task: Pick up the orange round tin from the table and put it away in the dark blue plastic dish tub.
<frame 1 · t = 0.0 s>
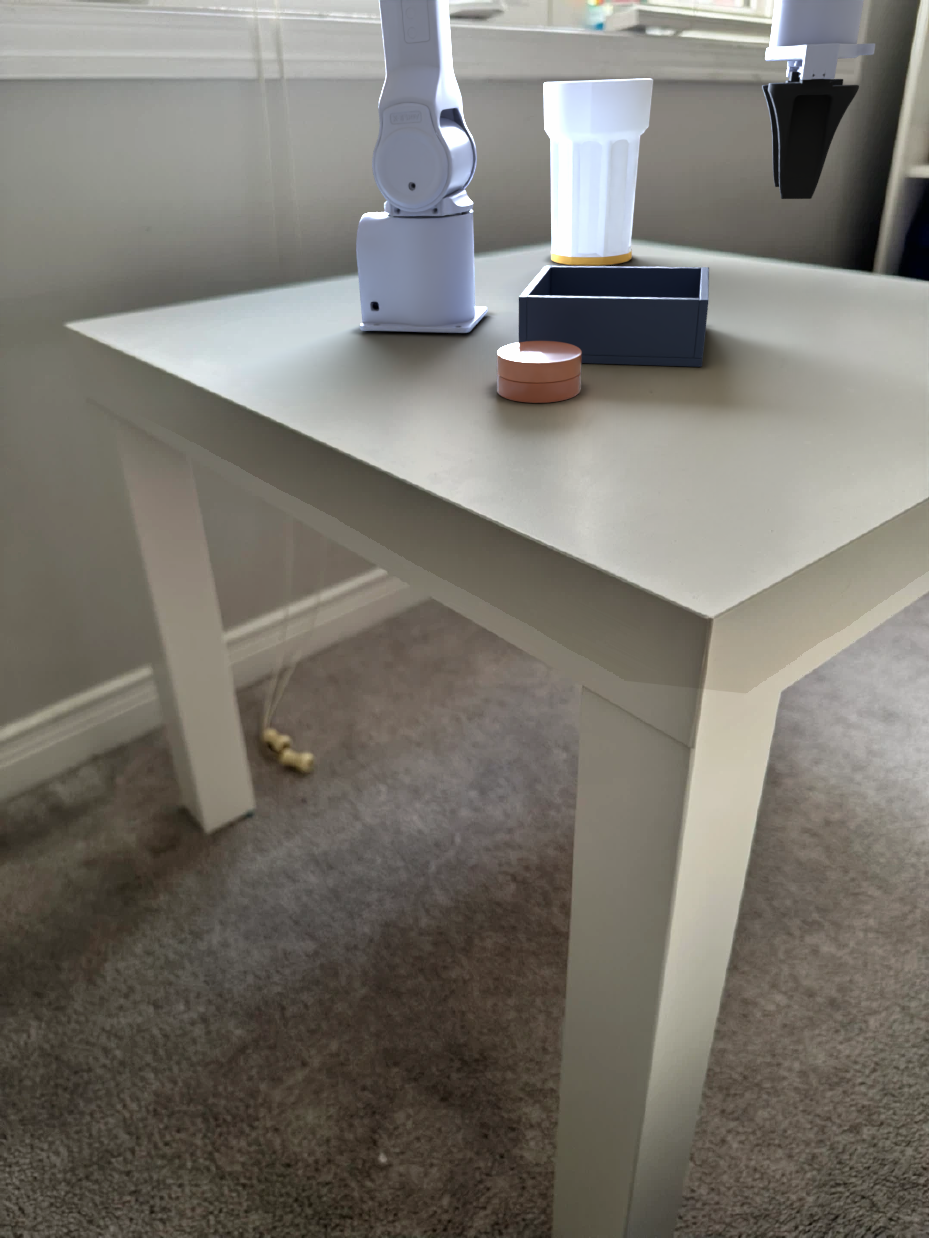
hand: (791, 192, 67), 10 cm above the table, tool pointing down, fingers open, 7 cm apart
orange round tin: (538, 390, 61), on the table
tub: (615, 343, 71), on the table
cup: (590, 260, 103), on the table
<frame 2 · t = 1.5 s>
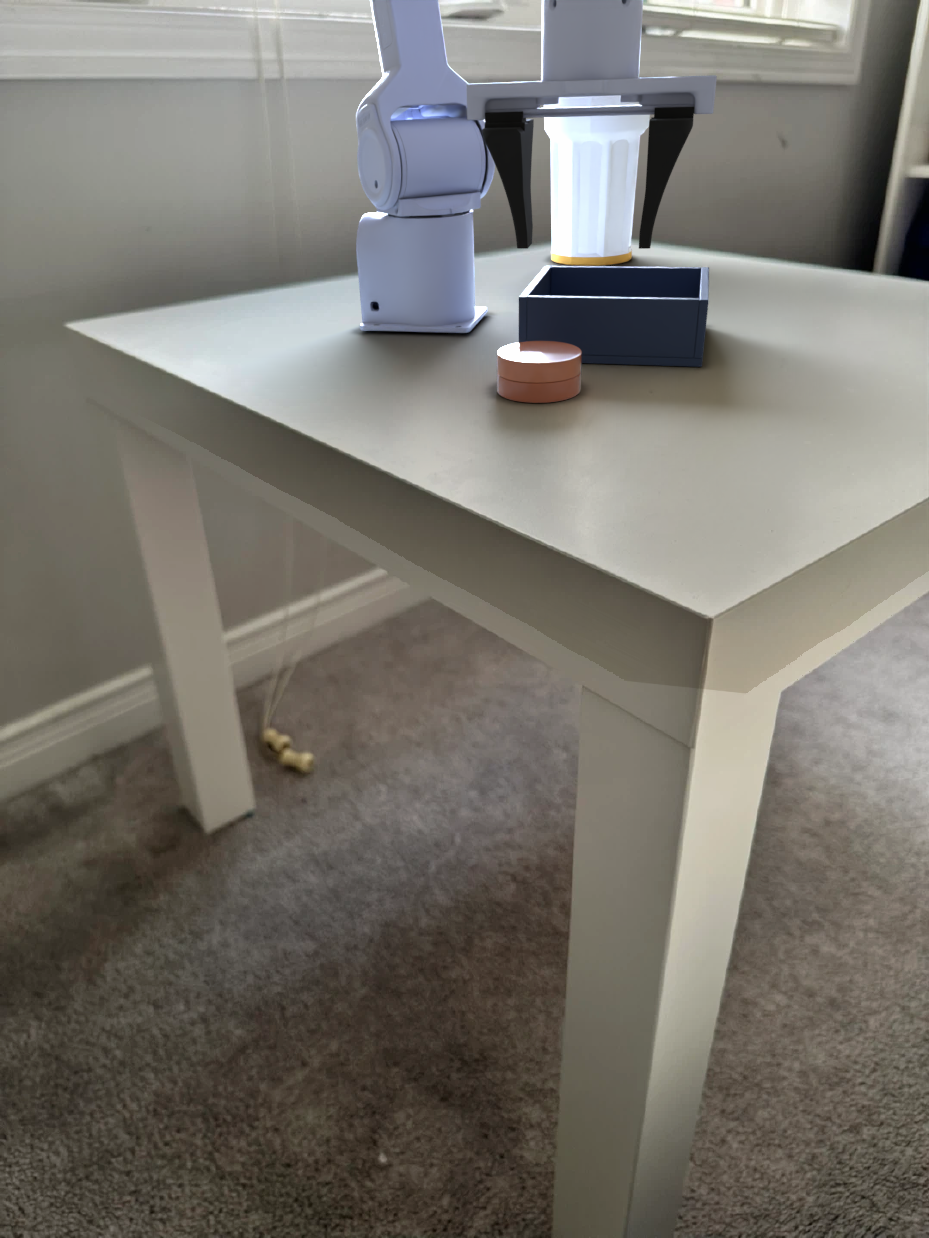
hand: (583, 246, 58), 9 cm above the table, tool pointing down, fingers open, 7 cm apart
nothing on the table moved.
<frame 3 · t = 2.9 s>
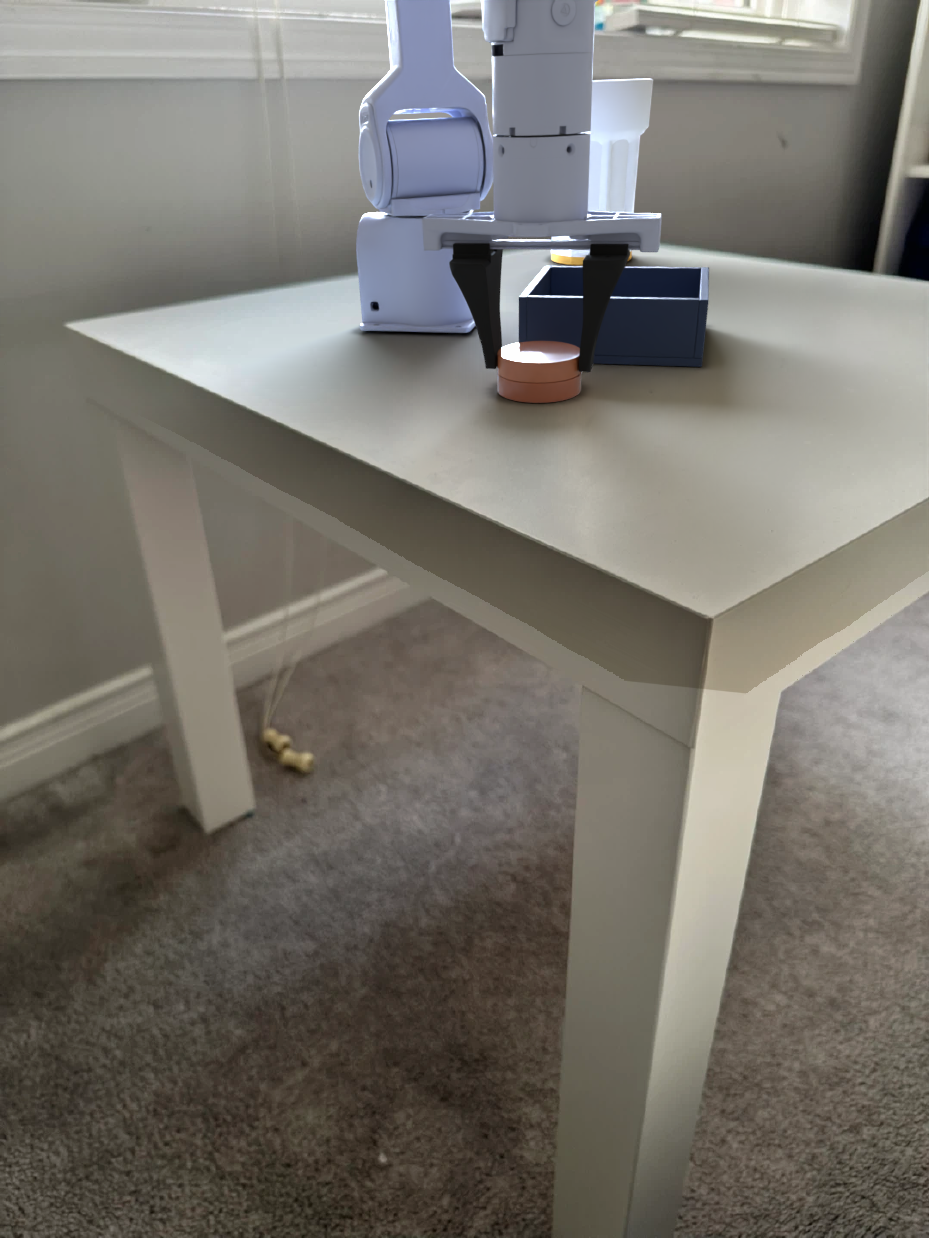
hand: (538, 366, 60), 2 cm above the table, tool pointing down, fingers closed on orange round tin, 5 cm apart
orange round tin: (539, 390, 61), on the table, touching gripper
everything else where it was.
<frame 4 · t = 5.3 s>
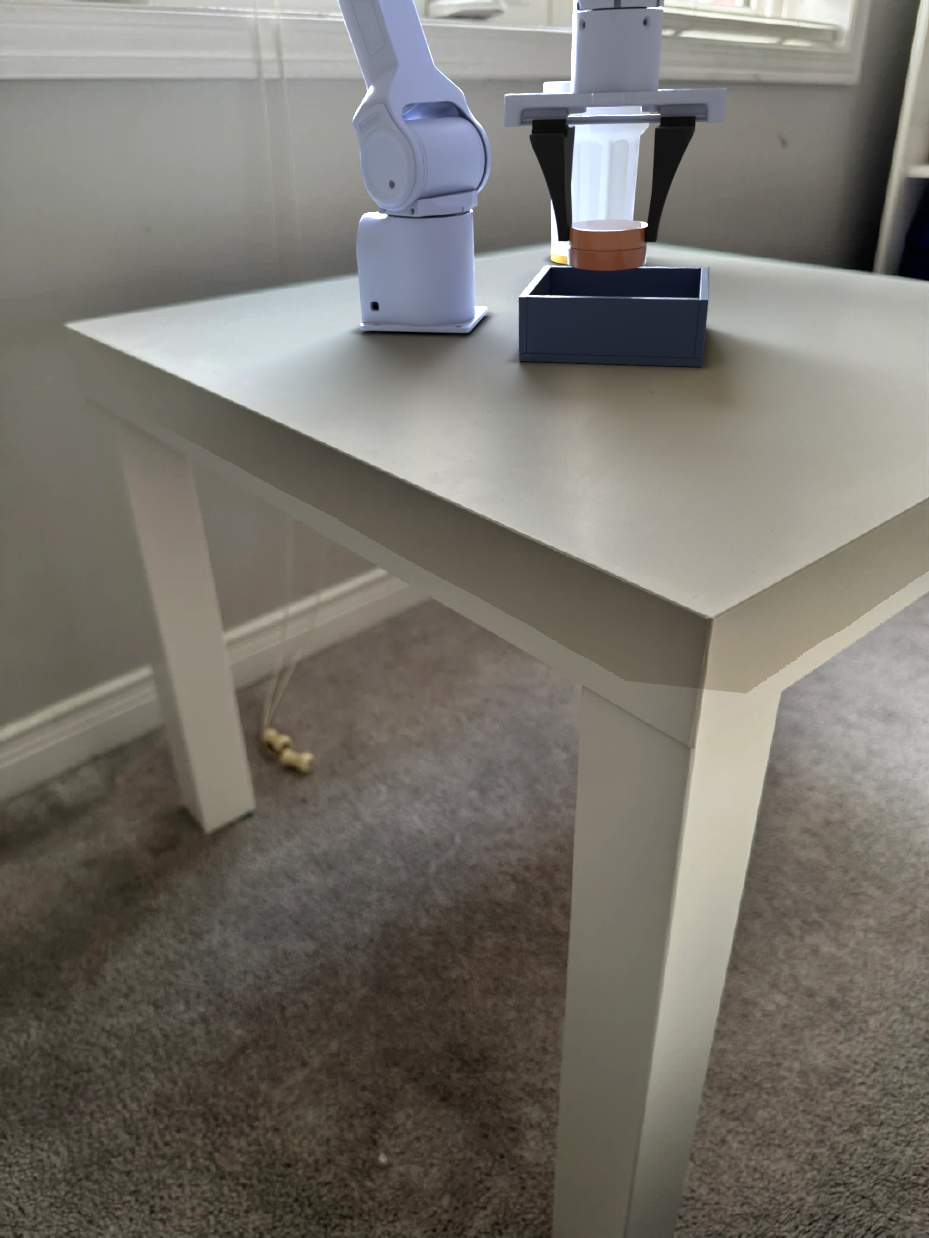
hand: (607, 240, 65), 8 cm above the table, tool pointing down, fingers closed on orange round tin, 5 cm apart
orange round tin: (606, 263, 66), point 6 cm above the table, touching gripper
everything else where it was.
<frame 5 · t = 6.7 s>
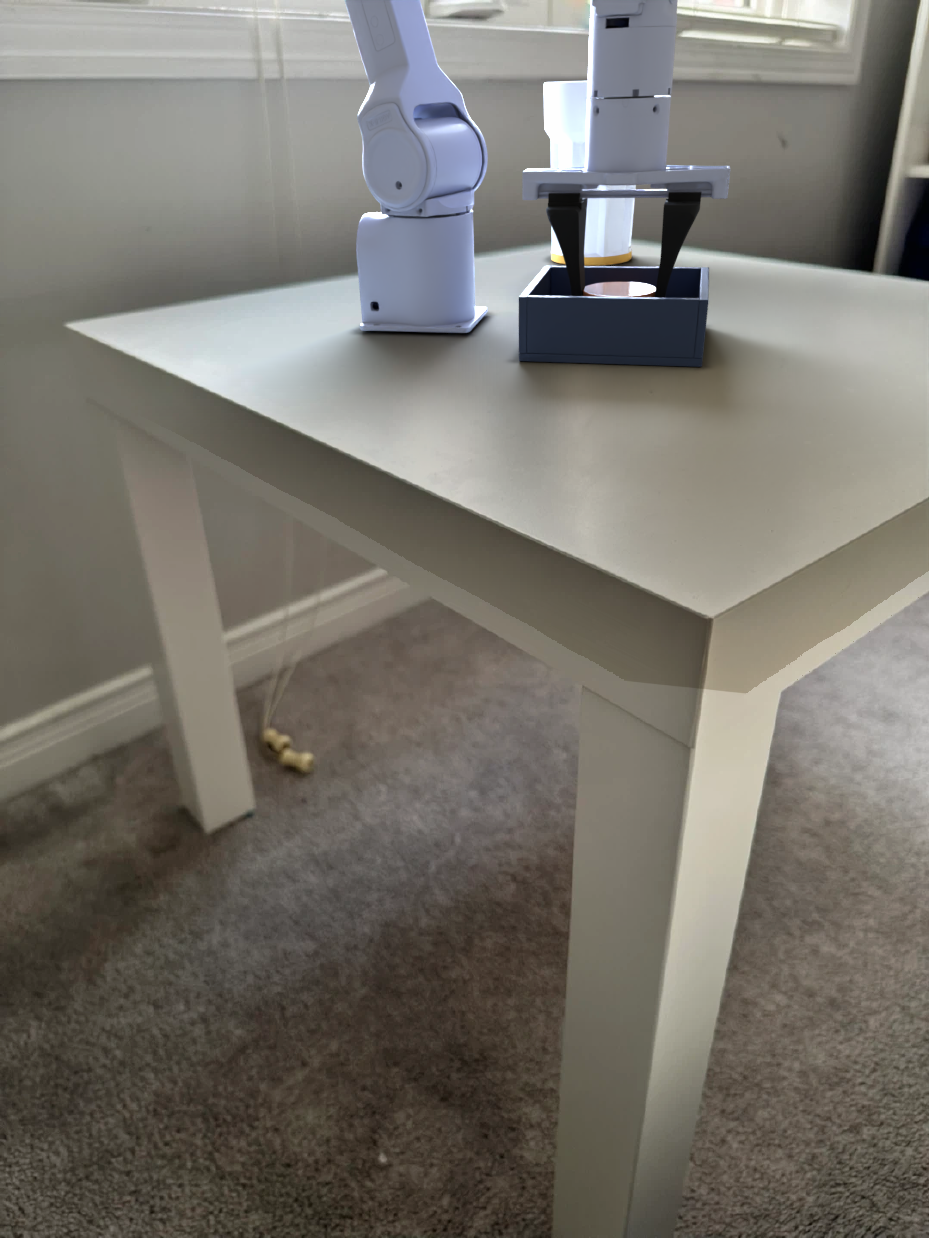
hand: (618, 302, 69), 3 cm above the table, tool pointing down, fingers closed on orange round tin, 5 cm apart
orange round tin: (617, 324, 70), point 1 cm above the table, touching gripper
everything else where it was.
when the fingers open (2 cm above the table, at t = 7.5 s): orange round tin stays where it is, resting on tub.
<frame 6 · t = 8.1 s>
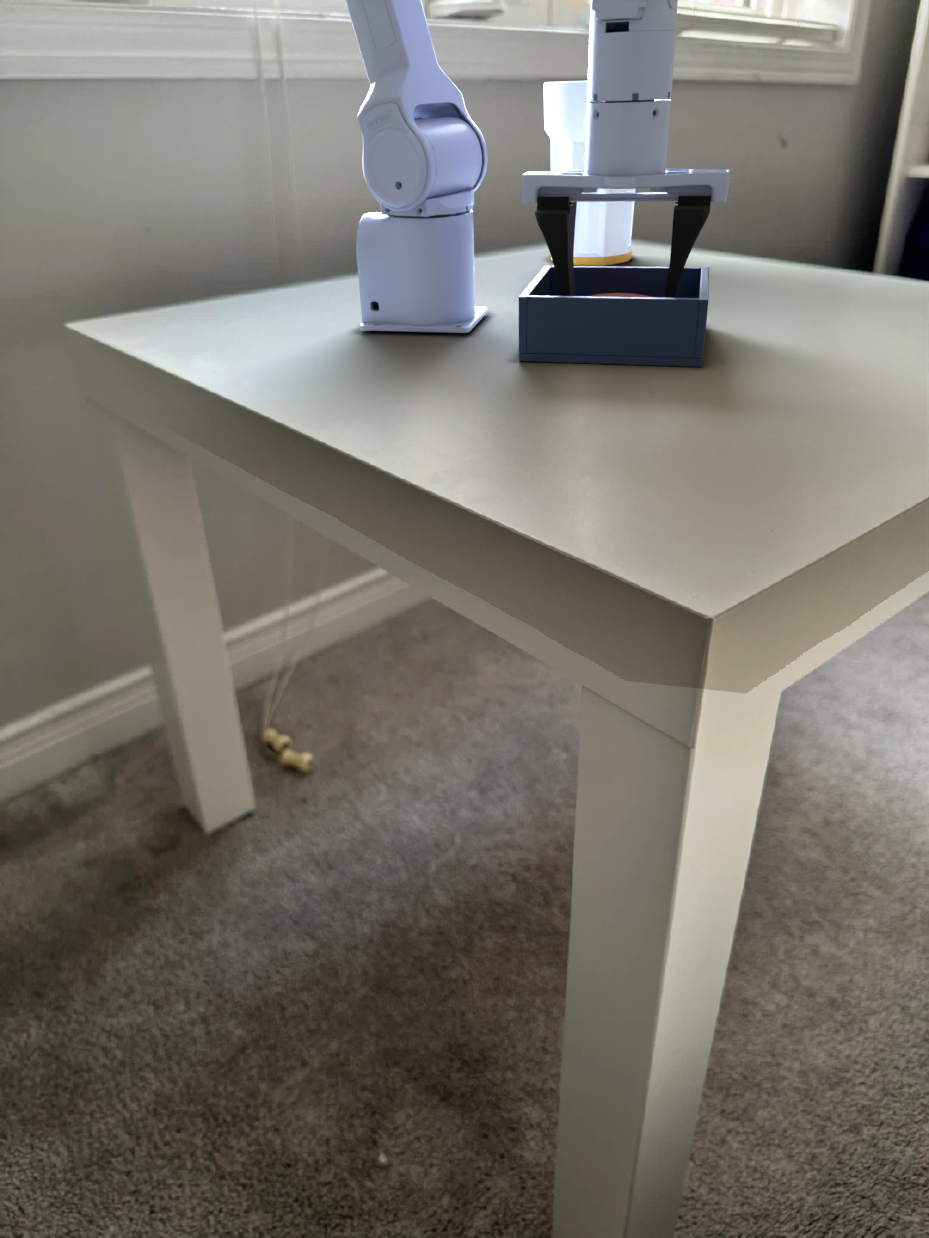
hand: (617, 305, 70), 3 cm above the table, tool pointing down, fingers open, 7 cm apart
orange round tin: (616, 335, 71), point 1 cm above the table, touching tub
everything else where it was.
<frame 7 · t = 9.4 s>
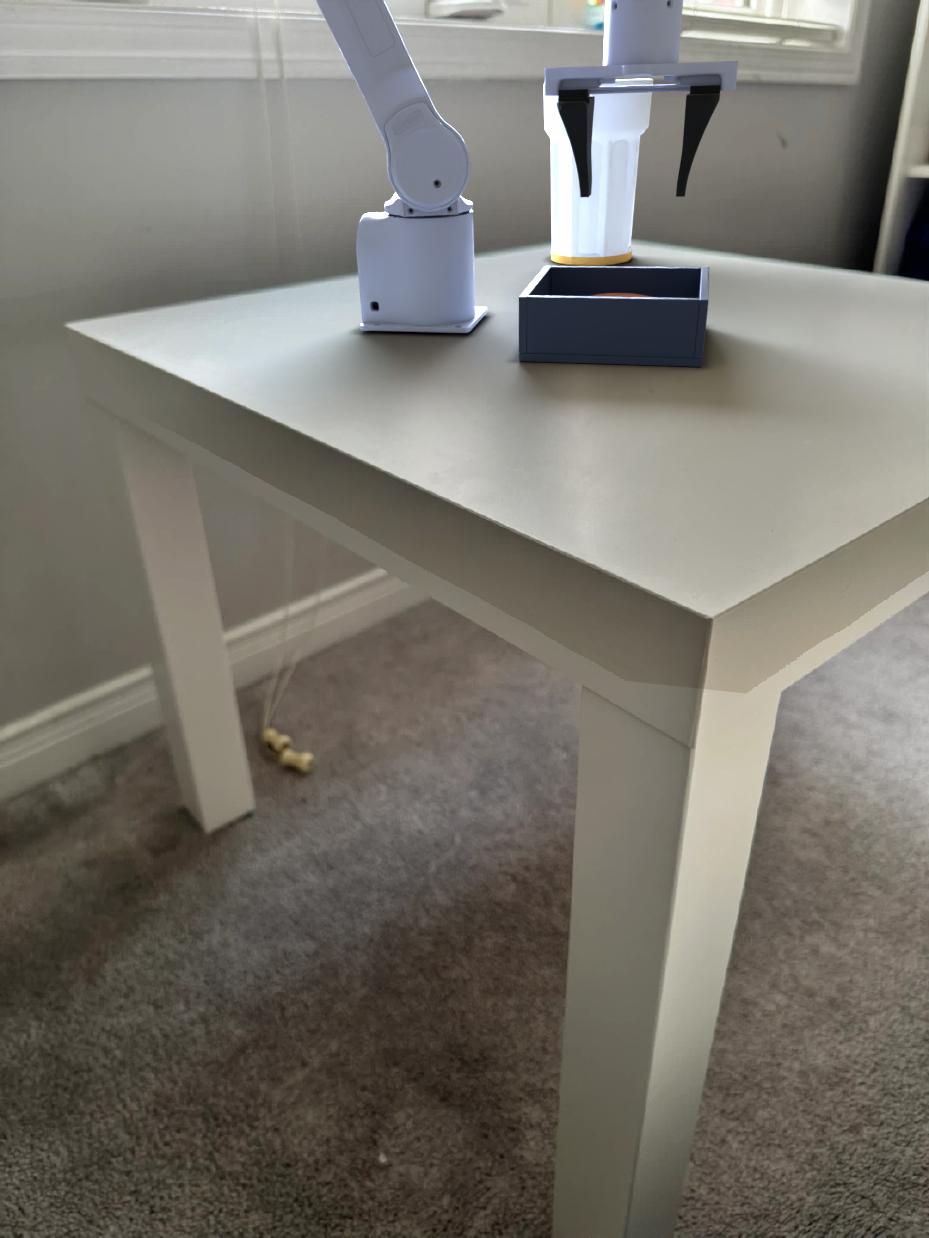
hand: (632, 195, 75), 9 cm above the table, tool pointing down, fingers open, 7 cm apart
nothing on the table moved.
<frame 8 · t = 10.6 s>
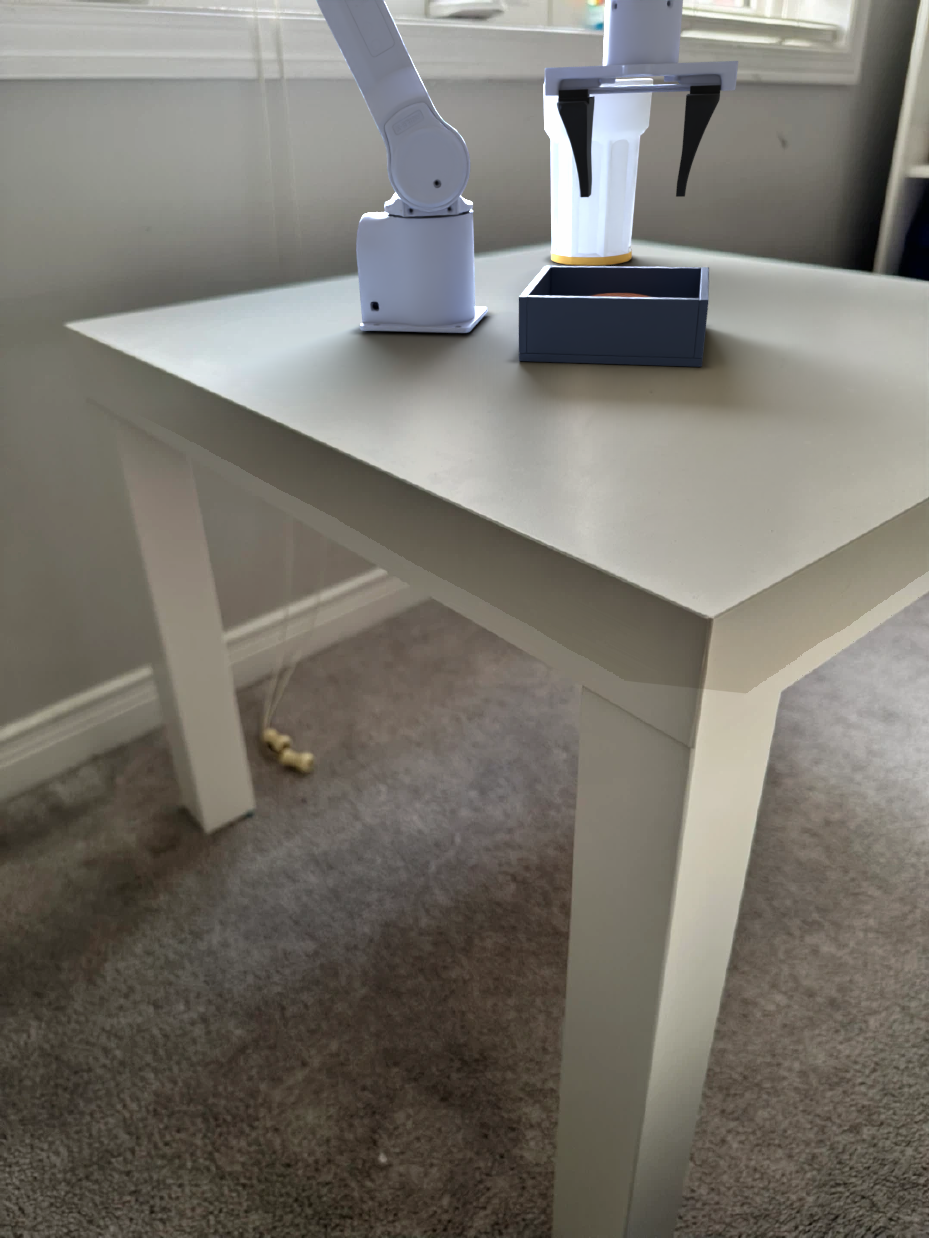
hand: (632, 195, 75), 9 cm above the table, tool pointing down, fingers open, 7 cm apart
nothing on the table moved.
at the end: orange round tin inside the target area in the tub (0.1 cm from its centre), point 0.6 cm above the tub's base; the gripper is holding nothing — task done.
